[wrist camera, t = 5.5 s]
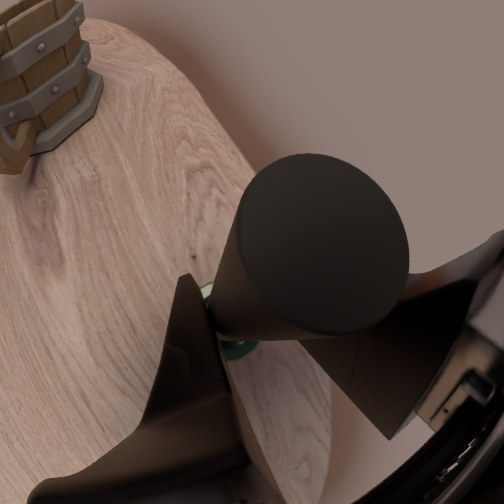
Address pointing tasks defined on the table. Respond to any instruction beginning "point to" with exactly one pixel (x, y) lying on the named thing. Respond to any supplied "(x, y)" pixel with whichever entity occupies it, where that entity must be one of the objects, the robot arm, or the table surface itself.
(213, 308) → the stylus
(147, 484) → the robot arm
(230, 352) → the pen pot
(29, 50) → the tankard
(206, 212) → the table surface
